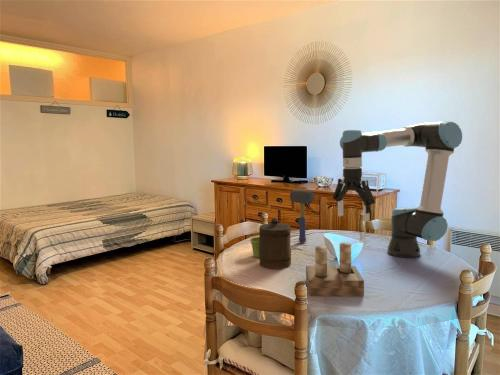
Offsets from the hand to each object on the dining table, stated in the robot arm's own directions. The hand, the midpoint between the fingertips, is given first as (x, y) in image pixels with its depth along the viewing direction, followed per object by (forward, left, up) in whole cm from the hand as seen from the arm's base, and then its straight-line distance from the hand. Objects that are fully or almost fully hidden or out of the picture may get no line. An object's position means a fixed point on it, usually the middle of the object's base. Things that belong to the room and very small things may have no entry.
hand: (353, 218), depth 156 cm
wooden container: (+33, -14, -25) cm, 44 cm away
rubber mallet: (+18, -50, -25) cm, 59 cm away
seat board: (+10, +14, -25) cm, 30 cm away
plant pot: (+41, -26, -25) cm, 55 cm away
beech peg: (+5, +12, -22) cm, 25 cm away
